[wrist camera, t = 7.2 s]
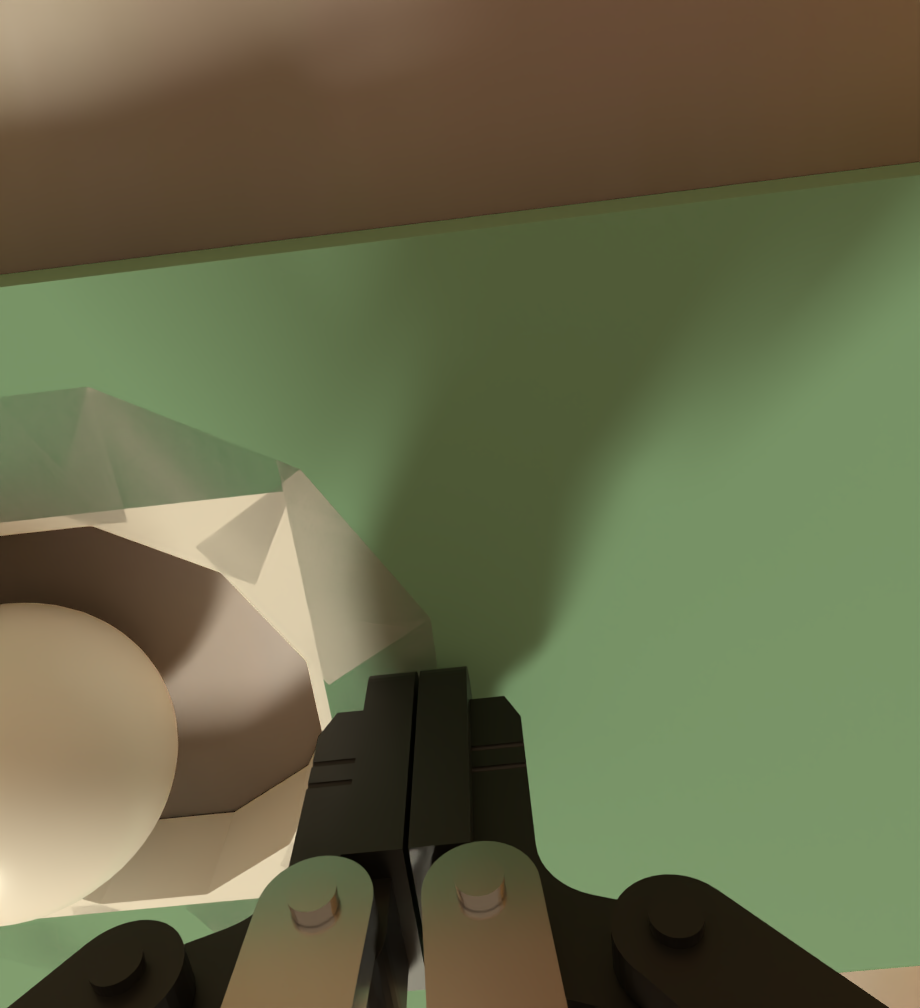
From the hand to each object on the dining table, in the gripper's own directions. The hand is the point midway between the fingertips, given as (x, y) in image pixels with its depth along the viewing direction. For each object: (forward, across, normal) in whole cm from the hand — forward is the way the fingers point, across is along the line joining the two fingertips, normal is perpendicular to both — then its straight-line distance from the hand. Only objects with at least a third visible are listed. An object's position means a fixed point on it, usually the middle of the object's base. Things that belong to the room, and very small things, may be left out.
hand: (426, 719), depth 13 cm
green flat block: (+2, 0, 0) cm, 2 cm away
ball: (0, +6, 0) cm, 6 cm away
